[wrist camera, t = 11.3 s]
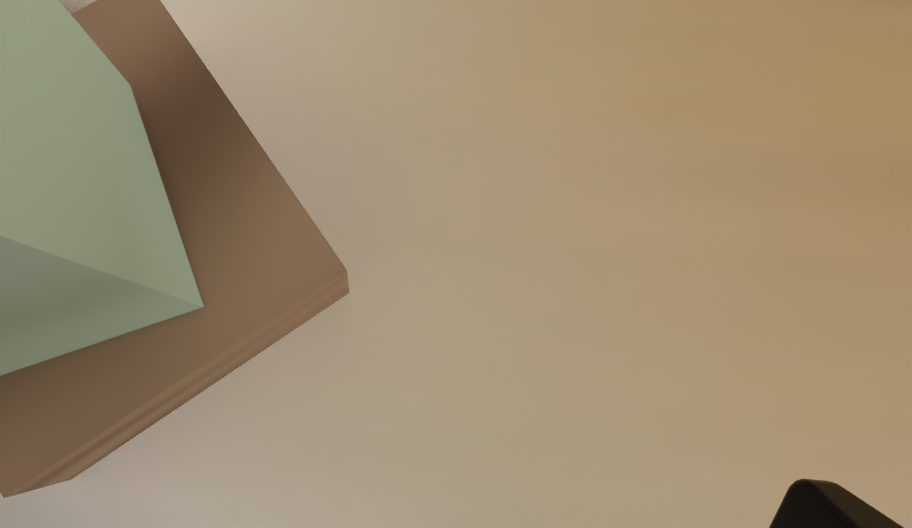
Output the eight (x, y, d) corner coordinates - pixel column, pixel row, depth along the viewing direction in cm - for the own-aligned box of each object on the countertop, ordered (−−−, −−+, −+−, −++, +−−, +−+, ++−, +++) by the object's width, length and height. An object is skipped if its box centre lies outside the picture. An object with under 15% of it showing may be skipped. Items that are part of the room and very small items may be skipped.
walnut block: (349, 294, 21) (346, 270, 17) (75, 477, 19) (3, 497, 16) (182, 52, 22) (142, -25, 18) (-97, 212, 20) (-208, 167, 16)
